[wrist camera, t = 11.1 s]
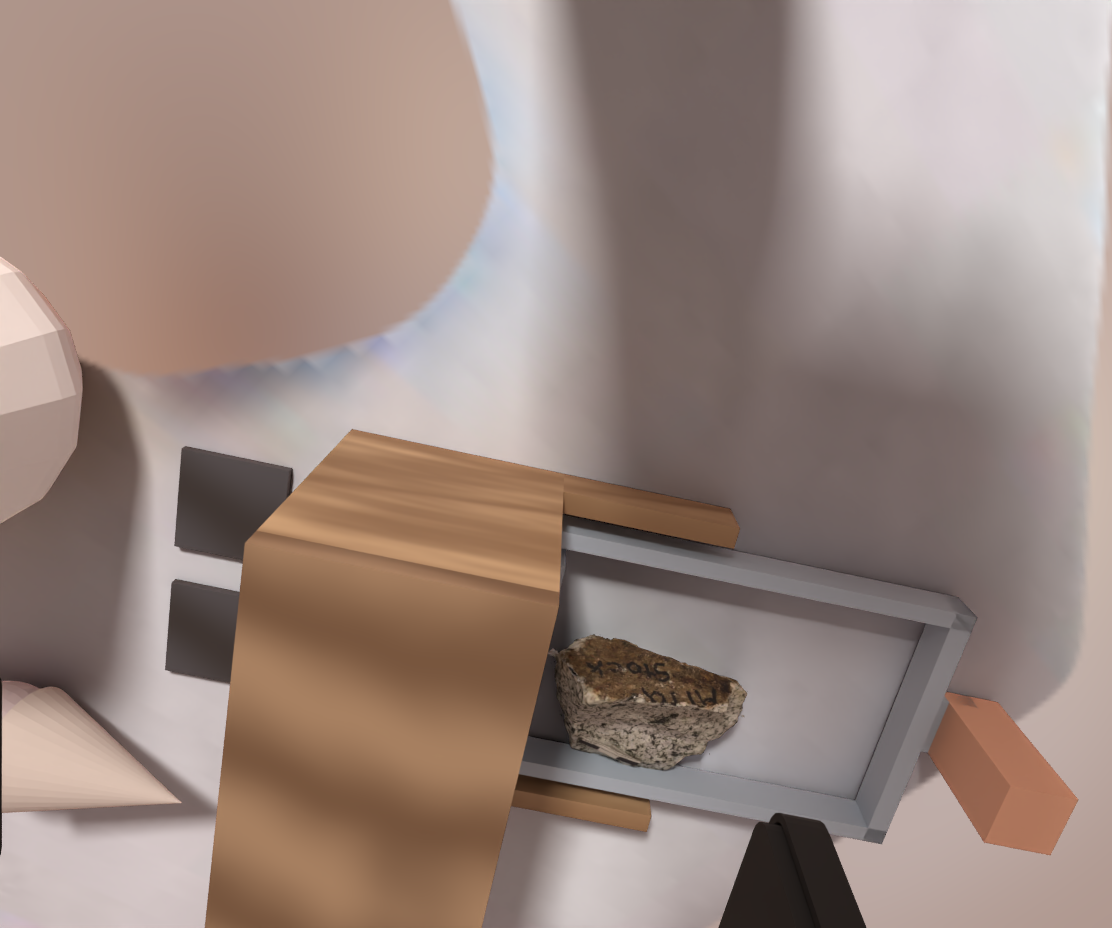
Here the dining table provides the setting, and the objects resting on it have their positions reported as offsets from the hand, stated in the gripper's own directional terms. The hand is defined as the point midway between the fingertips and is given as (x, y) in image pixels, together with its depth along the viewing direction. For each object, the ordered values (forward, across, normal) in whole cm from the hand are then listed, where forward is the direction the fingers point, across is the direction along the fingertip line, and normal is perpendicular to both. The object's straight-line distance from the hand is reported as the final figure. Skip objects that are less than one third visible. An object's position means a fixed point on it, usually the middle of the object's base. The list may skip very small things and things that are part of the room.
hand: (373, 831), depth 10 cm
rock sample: (+29, -10, +15) cm, 34 cm away
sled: (+28, -15, +13) cm, 34 cm away
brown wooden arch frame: (+28, +2, +13) cm, 31 cm away
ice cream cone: (+29, +19, +23) cm, 41 cm away
